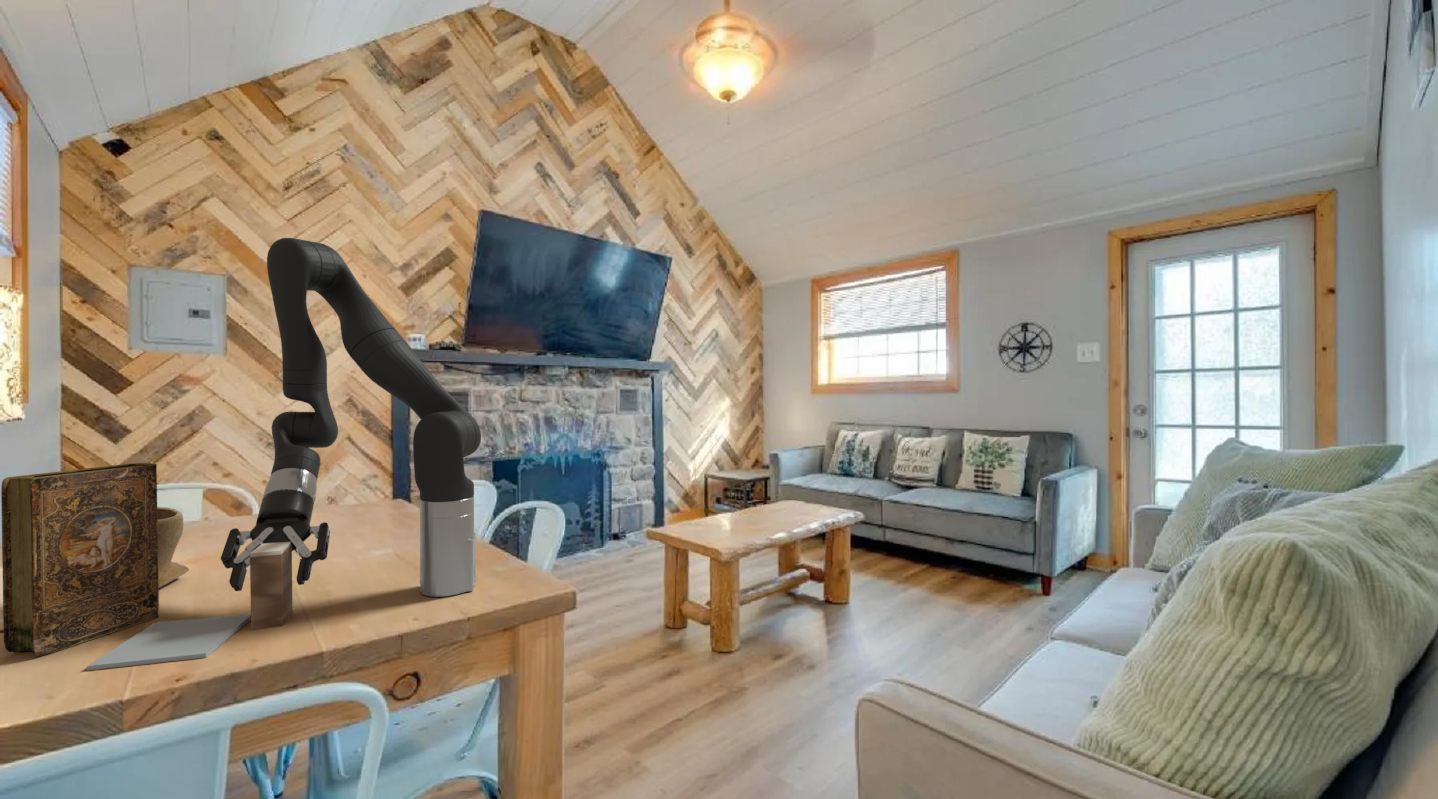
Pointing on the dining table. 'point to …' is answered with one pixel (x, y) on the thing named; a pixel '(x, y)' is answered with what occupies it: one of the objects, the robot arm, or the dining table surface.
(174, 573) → the stone cup
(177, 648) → the felt mat
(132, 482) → the book
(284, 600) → the brown rectangular block
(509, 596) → the dining table surface
